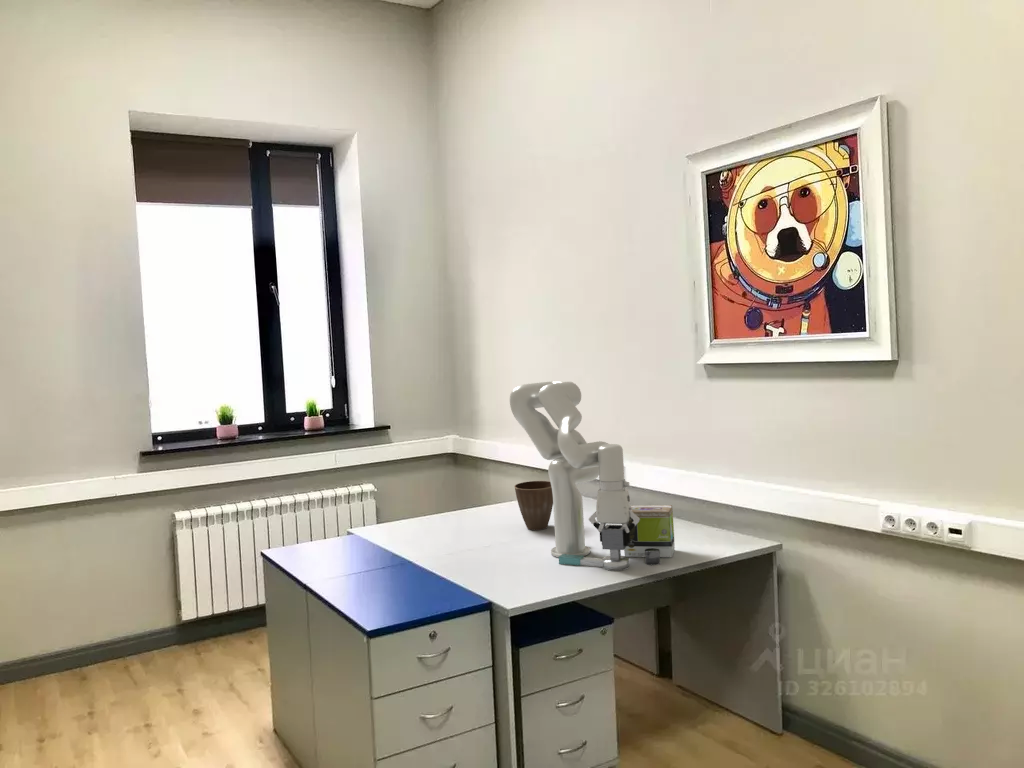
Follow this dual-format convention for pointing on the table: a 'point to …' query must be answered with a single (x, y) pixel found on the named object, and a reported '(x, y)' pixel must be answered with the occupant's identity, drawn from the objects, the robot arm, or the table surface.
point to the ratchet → (598, 561)
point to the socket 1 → (613, 537)
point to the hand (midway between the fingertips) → (615, 543)
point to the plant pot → (535, 503)
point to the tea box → (652, 531)
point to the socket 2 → (652, 556)
